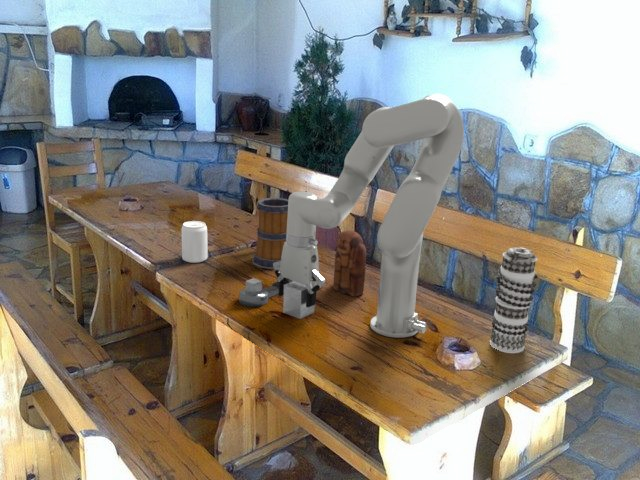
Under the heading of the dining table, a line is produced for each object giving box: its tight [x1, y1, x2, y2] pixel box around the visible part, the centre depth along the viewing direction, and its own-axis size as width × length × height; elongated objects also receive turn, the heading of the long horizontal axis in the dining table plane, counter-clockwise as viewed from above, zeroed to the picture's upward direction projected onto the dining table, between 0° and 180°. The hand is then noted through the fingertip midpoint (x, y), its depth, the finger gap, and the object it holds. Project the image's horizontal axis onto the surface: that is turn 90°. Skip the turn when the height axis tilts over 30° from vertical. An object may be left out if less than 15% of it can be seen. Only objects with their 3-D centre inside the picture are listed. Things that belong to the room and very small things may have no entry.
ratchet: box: [238, 277, 292, 308], centre depth 185 cm, size 8×21×6 cm, turn 142°
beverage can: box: [181, 220, 209, 264], centre depth 209 cm, size 8×8×12 cm
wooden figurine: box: [332, 229, 367, 297], centre depth 189 cm, size 12×6×18 cm, turn 42°
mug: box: [251, 197, 289, 270], centre depth 212 cm, size 19×14×20 cm
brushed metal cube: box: [282, 281, 316, 320], centre depth 174 cm, size 6×6×8 cm
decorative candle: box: [489, 246, 539, 354], centre depth 158 cm, size 9×9×25 cm
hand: (296, 300), depth 174 cm, fingers open, 9 cm apart
